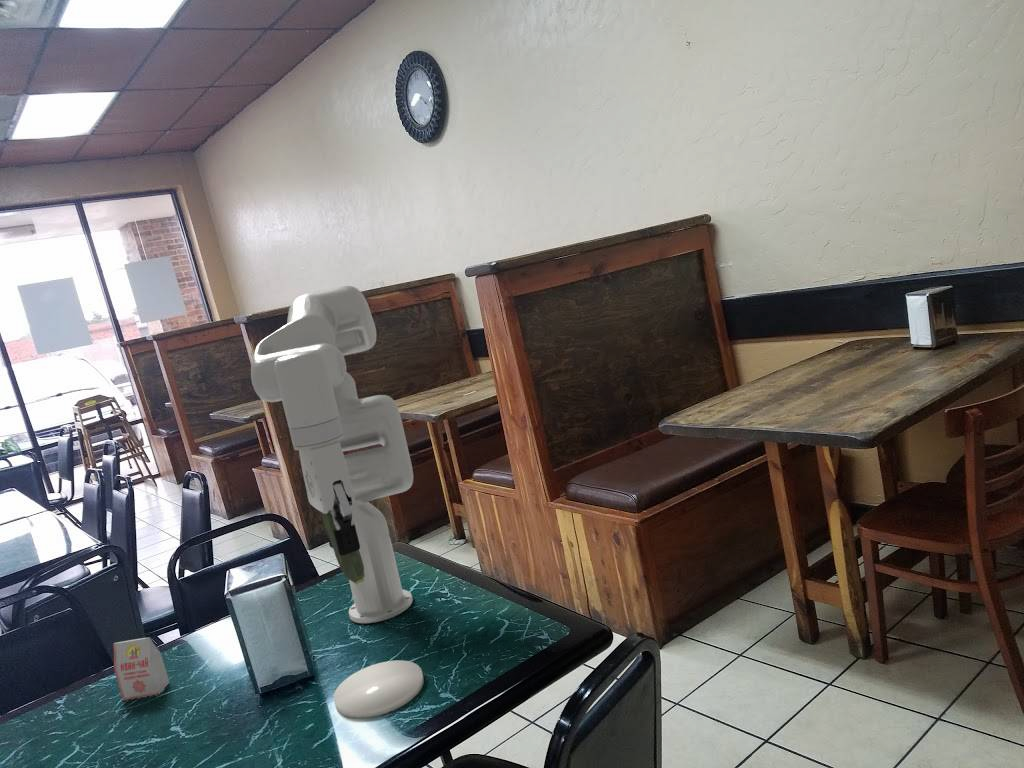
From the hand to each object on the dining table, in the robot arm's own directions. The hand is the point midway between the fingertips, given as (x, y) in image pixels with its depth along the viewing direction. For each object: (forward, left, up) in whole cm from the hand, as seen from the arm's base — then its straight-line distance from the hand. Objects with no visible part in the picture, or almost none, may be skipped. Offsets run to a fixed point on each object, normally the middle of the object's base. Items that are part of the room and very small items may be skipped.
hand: (345, 547), depth 119 cm
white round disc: (0, 0, -24) cm, 24 cm away
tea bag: (-35, -32, -24) cm, 53 cm away
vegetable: (0, 0, -7) cm, 7 cm away
